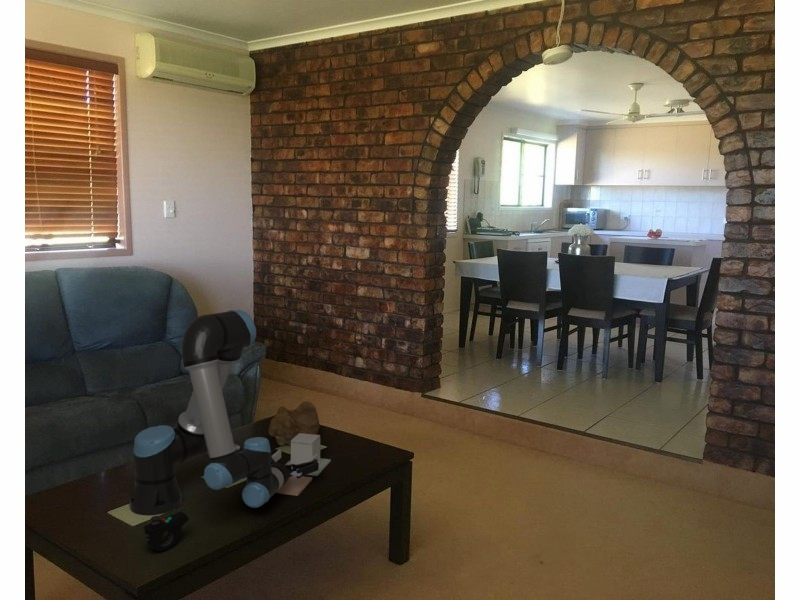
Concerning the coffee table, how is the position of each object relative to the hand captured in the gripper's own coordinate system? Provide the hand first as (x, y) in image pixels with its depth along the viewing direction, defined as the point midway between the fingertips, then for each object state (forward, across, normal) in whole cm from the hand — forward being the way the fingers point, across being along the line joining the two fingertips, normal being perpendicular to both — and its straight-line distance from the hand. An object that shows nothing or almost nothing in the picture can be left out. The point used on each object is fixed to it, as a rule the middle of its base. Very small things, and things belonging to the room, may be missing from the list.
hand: (298, 455), depth 226 cm
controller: (-56, -16, -8) cm, 59 cm away
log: (+12, -33, -7) cm, 36 cm away
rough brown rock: (+28, -11, -6) cm, 31 cm away
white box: (+7, 0, -6) cm, 9 cm away
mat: (+7, 0, -6) cm, 9 cm away
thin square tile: (-10, 0, -7) cm, 12 cm away
